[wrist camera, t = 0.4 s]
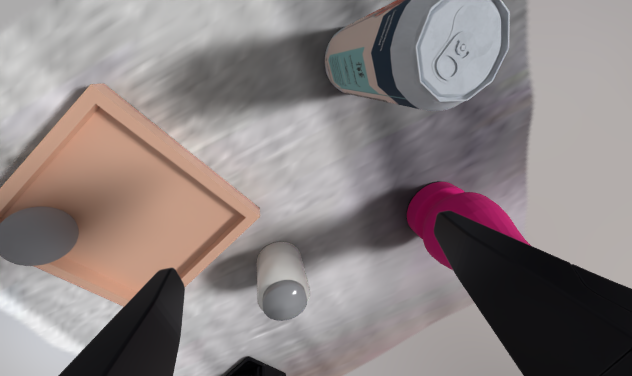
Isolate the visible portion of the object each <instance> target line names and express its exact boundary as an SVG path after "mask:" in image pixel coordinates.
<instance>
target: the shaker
mask: <svg viewBox="0 0 632 376" xmlns="http://www.w3.org/2000/svg"><path fill="white" fill-rule="evenodd" d="M309 297H310V289H309V285H308V281H307V277H306V273H305V270H304V266H303V262H302V258H301V254H300V252H299V250H298V249H297V247H296V246H294V245H293V244H291V243H287V242H275V243H272V244H269V245H267V246H266V247H265V248H263V249H262V250H261V252H260V253H259V255H258V257H257V300H258V305H259V307H260V308H261V309H262V310H263V311H264V313H265V314H266V315H267V316H268V317H269V318H271V319H274V320H279V321H283V320H289V319H292V318H294V317H296V316H298V315H299V314H300V313H301V312H302V311H303V310H304V309H305V307H306V305H307V301H308V299H309Z"/></svg>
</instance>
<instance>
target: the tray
mask: <svg viewBox="0 0 632 376" xmlns="http://www.w3.org/2000/svg"><path fill="white" fill-rule="evenodd" d="M40 206H43V207H52V208H57V209H60V210H62V211H64V212H66V213H68V214H69V215H70V216H71V217H73V219H74V220H75V221H76V223H77V225H78V229H79V235H78V239H77V242H76V244H75V245H74V247H73V248H72V249H71V250H70V251H69V252H68V253H67V254H66V255H65V256H63V257H61V258H60V259H58V260H56V261H53V262H51V263H47V264H43V265H37V266H34V267H37V268H39V269H41V270H43V271H46V272H48V273H50V274H52V275H54V276H57V277H59V278H61V279H63V280H66V281H68V282H70V283H72V284H75V285H77V286H79V287H81V288H83V289H86V290H88V291H90V292H92V293H95V294H97V295H99V296H101V297H104V298H106V299H108V300H110V301H113V302H115V303H117V304H119V305H121V306H125V305H126V304H127V303H128V302H129V301H130V300H131V299H132V298H133V297H134V296H135V295H136V294H137V293H138V291H139V290H140V289H141V288H142V287H143V286H144V285H145V284H146V283H147V282H148V281H149V280H150V279H151V278H152V277H153V276H154V275H155V274H156V273H157V272H158V271H159V270H161V269H166V268H174V269H175V270H176V271H177V273H178V275H179V276H180V278H181V280H182V281H183V283H184V287H186V286H187V285H188V284H189V283H190V282H191V281H192V280H193V279H194V278H195V277H196V276H197V275H199V274H200V273H201V272H202V271H203V270H204V269H205V268H206V267H207V266H208V265H209V264H210V263H211V262H212V261H213V260H214V259H216V258H217V257H218V256H219V255H220V254H221V253H222V252H223V251H224V250H225V249H226V248H227V247H228V246H229V245H230V244H232V243H233V242H234V241H235V240H236V239H237V238H238V237H239V236H240V235H241V234H242V233H243V232H244V231H245V230H246V229H247V228H249V227H250V226H251V225H252V224H253V223H254V222H255V221H256V220H257V219H258V218H259V217H260V208H259V207H258V206H256V205H255V204H254V203H253V202H251V201H250V200H249V199H248V198H246V197H245V196H244V195H243V194H241V193H240V192H239V191H238V190H236V189H235V188H234V187H233V186H231V185H230V184H229V183H228V182H226V181H225V180H224V179H223V178H221V177H220V176H219V175H218V174H216V173H215V172H214V171H213V170H211V169H210V168H209V167H208V166H206V165H205V164H204V163H203V162H201V161H200V160H199V159H198V158H196V157H195V156H194V155H193V154H191V153H190V152H189V151H188V150H186V149H185V148H184V147H183V146H181V145H180V144H179V143H178V142H176V141H175V140H174V139H173V138H171V137H170V136H169V135H168V134H166V133H165V132H164V131H163V130H161V129H160V128H159V127H158V126H156V125H155V124H154V123H153V122H151V121H150V120H149V119H148V118H146V117H145V116H144V115H143V114H141V113H140V112H139V111H138V110H136V109H135V108H134V107H133V106H131V105H130V104H129V103H128V102H126V101H125V100H124V99H123V98H121V97H120V96H119V95H118V94H116V93H115V92H114V91H113V90H111V89H110V88H109V87H108V86H106V85H105V84H91V85H90V86H89V87H88V88H87V89H86V90H85V91H84V93H83V94H82V95H81V96H80V97H79V98H78V99H77V101H76V102H75V103H74V104H73V105H72V106H71V108H70V109H69V110H68V111H67V112H66V113H65V114H64V116H63V117H62V118H61V119H60V120H59V121H58V122H57V124H56V125H55V126H54V127H53V128H52V129H51V131H50V132H49V133H48V134H47V135H46V136H45V137H44V139H43V140H42V141H41V142H40V143H39V144H38V146H37V147H36V148H35V149H34V150H33V151H32V152H31V154H30V155H29V156H28V157H27V158H26V159H25V160H24V162H23V163H22V164H21V165H20V166H19V167H18V169H17V170H16V171H15V172H14V173H13V174H12V175H11V177H10V178H9V179H8V180H7V181H6V182H5V183H4V185H3V186H2V187H1V188H0V223H1V222H2V221H3V220H4V219H5V218H7V217H8V216H10V215H11V214H13V213H15V212H17V211H20V210H23V209H26V208H31V207H40Z"/></svg>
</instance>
